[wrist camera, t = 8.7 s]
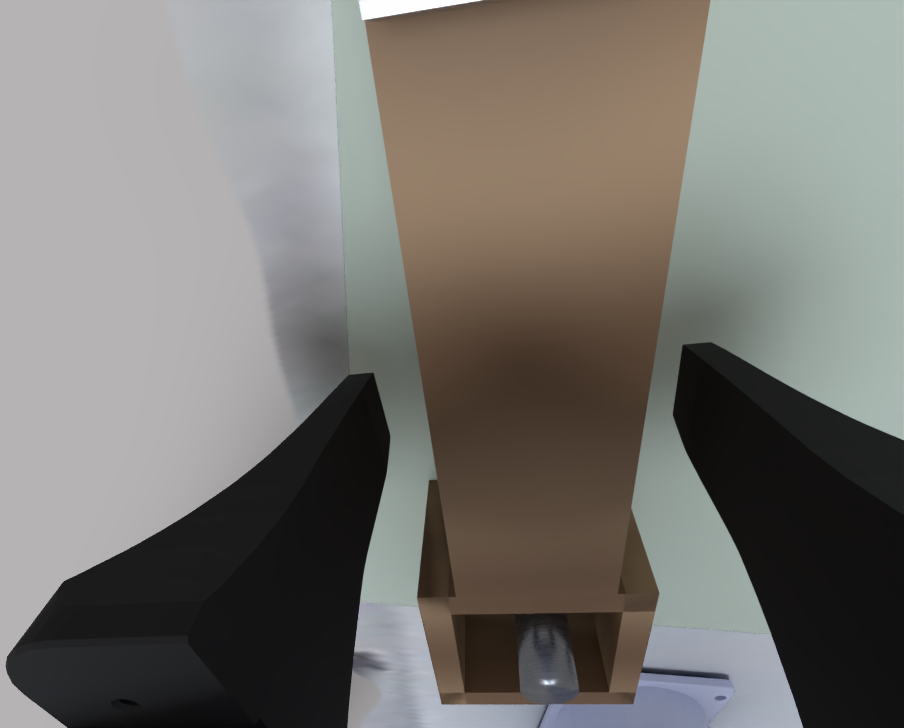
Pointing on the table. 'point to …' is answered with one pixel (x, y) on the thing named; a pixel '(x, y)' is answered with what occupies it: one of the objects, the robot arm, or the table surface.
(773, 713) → the table surface
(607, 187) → the link
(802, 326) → the board
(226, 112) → the table surface
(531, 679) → the cylinder
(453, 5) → the keeper
